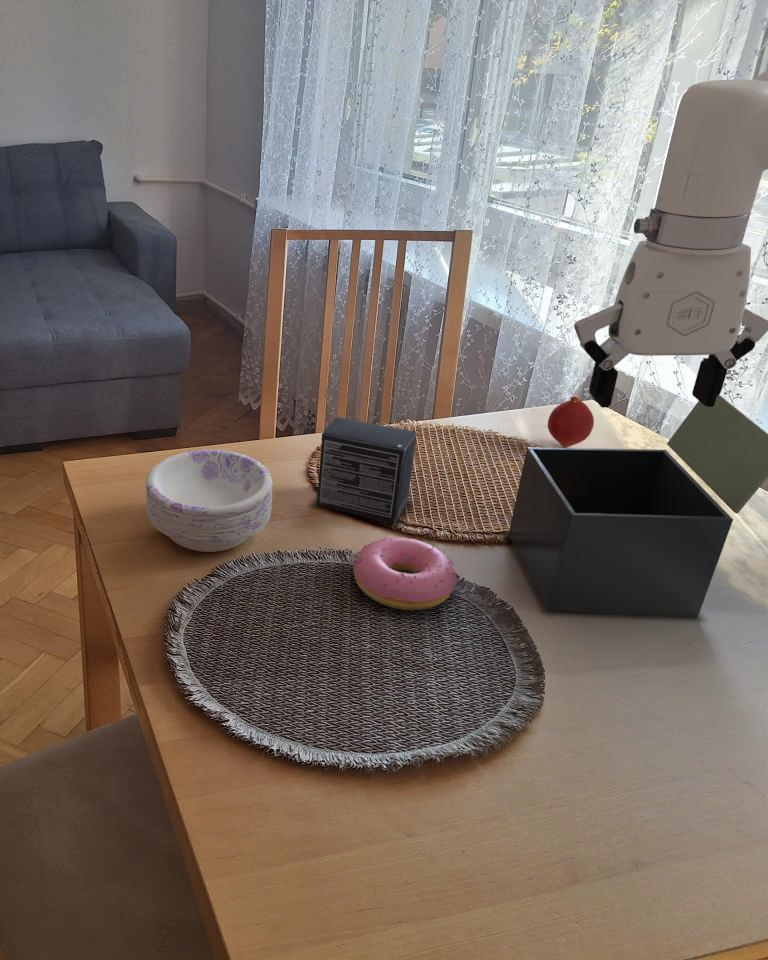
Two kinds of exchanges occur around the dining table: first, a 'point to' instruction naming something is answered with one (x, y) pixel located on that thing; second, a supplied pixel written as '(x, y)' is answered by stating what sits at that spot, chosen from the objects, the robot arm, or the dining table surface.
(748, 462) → the flap
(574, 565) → the bin
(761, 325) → the robot arm
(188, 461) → the paper bowls
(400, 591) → the doughnut
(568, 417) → the onion
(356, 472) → the small box
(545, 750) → the dining table surface
